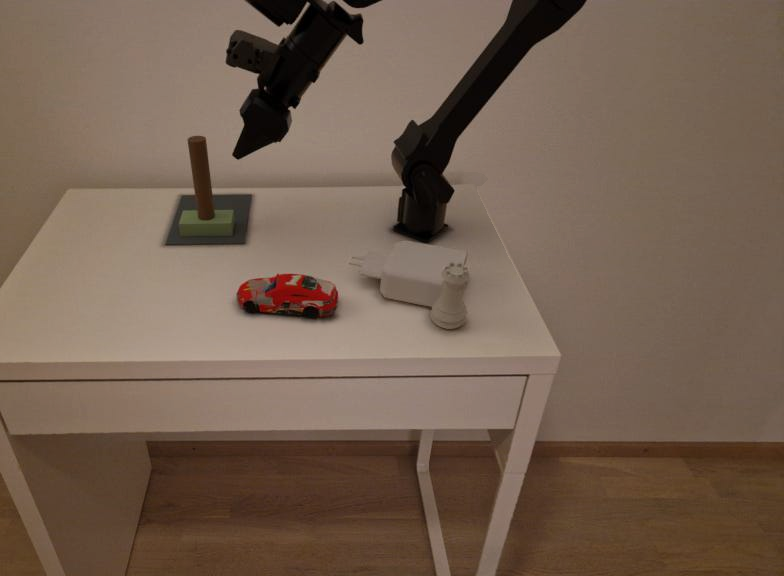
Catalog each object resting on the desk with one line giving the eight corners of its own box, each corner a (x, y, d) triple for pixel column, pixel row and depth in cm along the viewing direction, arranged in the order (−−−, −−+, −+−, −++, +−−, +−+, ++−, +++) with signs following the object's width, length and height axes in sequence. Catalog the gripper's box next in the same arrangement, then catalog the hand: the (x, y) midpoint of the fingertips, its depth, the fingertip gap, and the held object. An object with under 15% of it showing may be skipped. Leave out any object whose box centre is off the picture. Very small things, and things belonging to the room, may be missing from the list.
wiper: (234, 222, 95) (226, 132, 86) (232, 236, 91) (223, 144, 82) (184, 223, 95) (171, 133, 86) (180, 236, 91) (165, 145, 82)
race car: (232, 312, 76) (229, 286, 74) (243, 289, 80) (241, 264, 78) (333, 322, 74) (334, 296, 72) (339, 298, 78) (340, 272, 76)
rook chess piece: (426, 308, 76) (432, 258, 70) (460, 305, 76) (470, 254, 70) (434, 332, 73) (441, 282, 67) (470, 329, 73) (481, 278, 67)
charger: (359, 258, 86) (463, 278, 82) (339, 292, 80) (451, 314, 75) (361, 229, 83) (469, 247, 79) (340, 261, 76) (457, 283, 72)
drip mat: (244, 244, 90) (244, 242, 90) (165, 245, 90) (165, 243, 90) (251, 195, 103) (251, 194, 103) (182, 196, 103) (181, 195, 103)
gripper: (267, -12, 79) (208, 84, 88) (240, 23, 65) (174, 133, 74) (332, 45, 82) (269, 132, 92) (320, 89, 69) (247, 186, 78)
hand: (241, 143), depth 84 cm, fingers open, 9 cm apart
